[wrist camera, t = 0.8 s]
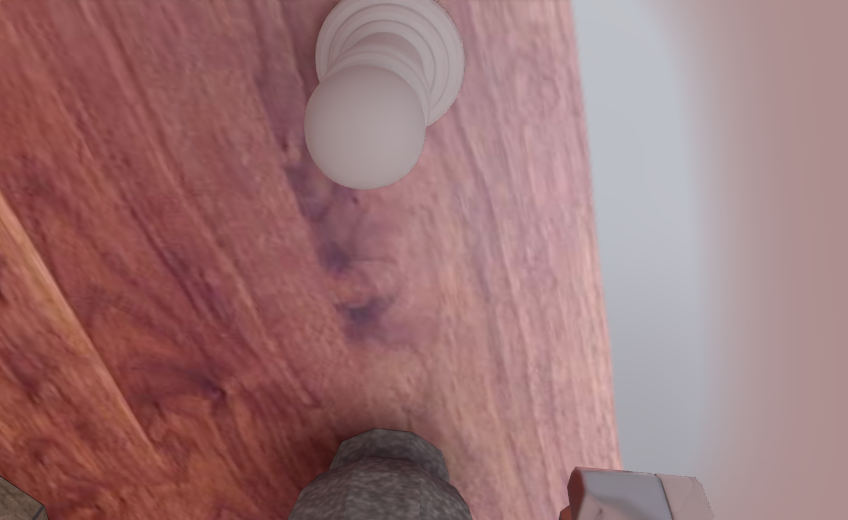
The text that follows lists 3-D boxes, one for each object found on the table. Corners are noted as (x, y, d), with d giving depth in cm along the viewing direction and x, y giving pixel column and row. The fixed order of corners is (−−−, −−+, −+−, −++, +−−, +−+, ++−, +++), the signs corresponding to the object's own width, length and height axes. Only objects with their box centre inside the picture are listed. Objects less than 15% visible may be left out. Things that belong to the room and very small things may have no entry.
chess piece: (306, -12, 24) (231, 57, 16) (460, -25, 24) (457, 40, 16) (330, 134, 27) (276, 253, 19) (469, 125, 26) (470, 242, 19)
